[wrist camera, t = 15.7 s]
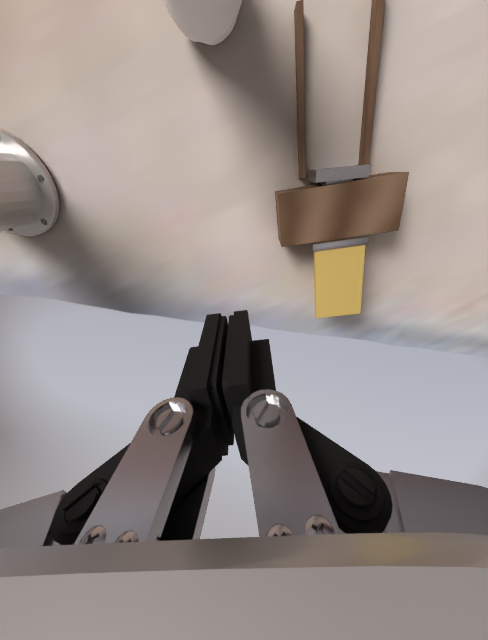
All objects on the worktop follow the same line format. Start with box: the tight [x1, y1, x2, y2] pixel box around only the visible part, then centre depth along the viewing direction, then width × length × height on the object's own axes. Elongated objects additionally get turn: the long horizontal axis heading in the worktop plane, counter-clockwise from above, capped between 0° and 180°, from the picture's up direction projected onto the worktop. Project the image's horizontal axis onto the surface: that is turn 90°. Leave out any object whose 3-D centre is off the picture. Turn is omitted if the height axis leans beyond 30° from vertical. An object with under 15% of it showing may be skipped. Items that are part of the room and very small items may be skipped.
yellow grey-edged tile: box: [312, 237, 368, 318], centre depth 31 cm, size 6×10×1 cm, turn 9°
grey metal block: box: [309, 164, 371, 244], centre depth 30 cm, size 11×6×4 cm, turn 5°
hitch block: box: [275, 0, 409, 247], centre depth 26 cm, size 14×21×5 cm, turn 9°
